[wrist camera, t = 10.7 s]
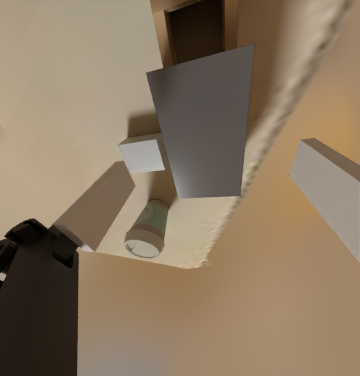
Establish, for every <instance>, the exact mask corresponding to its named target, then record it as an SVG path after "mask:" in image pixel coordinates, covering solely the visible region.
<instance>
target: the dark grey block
mask: <svg viewBox="0 0 360 376" xmlns="http://www.w3.org/2000/svg"><path fill="white" fill-rule="evenodd" d="M254 46H255V44H251V45H247V46H243V47H240V48H236V49H232V50H229V51H225V52H221V53H217V54H214V55H210V56H206V57H203V58H199V59H195V60H192V61H188V62H184V63H180V64H177V65H173V66H169V67H166V68H162V69H158V70H155V71H151V72H147V73H146V75H147V79H148V83H149V86H150V90H151V94H152V98H153V102H154V106H155V110H156V114H157V117H158V121H159V125H160V129H161V133H162V137H163V141H164V144H165V148H166V152H167V156H168V160H169V164H170V168H171V171H172V175H173V179H174V183H175V187H176V191H177V195H178V198H201V197H226V196H241V185H242V174H243V163H244V153H245V142H246V131H247V121H248V110H249V99H250V89H251V78H252V67H253V57H254Z"/></svg>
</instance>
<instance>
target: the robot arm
mask: <svg viewBox="0 0 360 376" xmlns="http://www.w3.org/2000/svg"><path fill="white" fill-rule="evenodd" d="M289 176H290V177H291V179H292V180H293V181H294V182H295V184H296V185H297V186H298V187H299V189H300V190H301V191H302V192H303V193H304V195H305V196H306V197H307V198H308V200H309V201H310V202H311V203H312V204H313V206H314V207H315V208H316V209H317V211H318V212H319V213H320V214H321V216H322V217H323V218H324V219H325V220H326V222H327V223H328V224H329V226H330V227H331V228H332V229H333V230H334V232H335V233H336V234H337V235H338V237H339V238H340V239H341V240H342V242H343V243H344V244H345V245H346V246H347V248H348V249H349V250H350V251H351V253H352V254H353V255H354V256H355V258H356V259H357V260H358V261H359V263H360V165H358V164H357V163H355V162H353V161H351V160H350V159H348V158H347V157H345V156H343V155H341V154H340V153H338V152H336V151H335V150H333V149H332V148H330V147H328V146H327V145H325V144H323V143H322V142H320V141H318V140H317V139H315V138H311V139H303V140H300V142H299V145H298V148H297V151H296V155H295V157H294V161H293V163H292V166H291V169H290V172H289ZM134 187H135V184H134V182H133V180H132V178H131V176H130V174H129V172H128V170H127V167H126V165H125V163H124V161H119V162H115V163H114V164H113V165H112V166H111V167H110V168H109V169H108V170H107V171H106V172H105V173H104V174H103V175H102V176H101V177H100V178H99V179H98V180H97V181H96V182H95V183H94V184H93V185H92V186H91V187H90V188H89V189H88V190H87V191H86V192H85V193H84V194H83V195H82V196H81V197H80V198H79V199H78V200H77V201H76V202H75V203H74V204H73V205H72V206H71V207H70V208H69V209H68V210H67V211H66V212H65V213H64V214H63V215H62V216H61V217H60V218H59V219H58V220H56V221H55V223H53V225H52V226H51V227H50V228H49V229H47V228H46V227H45V226H43V225H42V224H41V223H40V222H38V221H37V220H36V219H29V220H25V221H23V222H21V223H20V224H18V225H16V226H15V227H13V228H12V229H11V230H10V231H8V232H7V234H6V235H5V236H4V237H6V238H7V239H3V240H1V241H0V273H4V274H6V278H5V280H4V281H1V280H0V376H77V340H78V266H79V265H78V264H79V257H78V256H79V254H78V252H77V251H76V249H77V248H78V246H79V247H80V248H81V249H82V250H84V251H88V252H95V250H96V249H97V247H98V246H99V244H100V242H101V241H102V239H103V237H104V236H105V234H106V233H107V231H108V229H109V228H110V226H111V225H112V223H113V221H114V220H115V218H116V217H117V215H118V213H119V212H120V210H121V208H122V207H123V205H124V204H125V202H126V200H127V199H128V197H129V196H130V194H131V192H132V191H133V189H134Z"/></svg>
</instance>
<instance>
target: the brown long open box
mask: <svg viewBox="0 0 360 376" xmlns="http://www.w3.org/2000/svg"><path fill="white" fill-rule="evenodd" d="M199 1H202V0H150V3H151V8H152V13H153V18H154V23H155V28H156V33H157V38H158V43H159V48H160V53H161V58H162V63H163V68H166V67H169V66H173V65H177V57H176V50H175V44H174V37H173V30H172V24H171V17H170V12H172V11H175V10H177V9H180V8H183V7H185V6H188V5H191V4H194V3H196V2H199ZM237 19H238V0H222V52H225V51H229V50H232V49H236V46H237Z"/></svg>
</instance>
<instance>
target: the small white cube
mask: <svg viewBox="0 0 360 376" xmlns="http://www.w3.org/2000/svg"><path fill="white" fill-rule="evenodd" d="M118 147H119V149H120V151H121V153H122V156H123V158H124V160H125V162H126V164H127V166H128V168H129V171H130V173H138V172H149V171H160V170H165V169H166V167H167V164H168V162H169V160H168V156H167V152H166V148H165V144H164V141H163V137H162V133H161V132H160V133H154V134H148V135H142V136H136V137H129V138H126V139H125V140H124V141H122V142H121V143H120V144H119V145H118Z"/></svg>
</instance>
